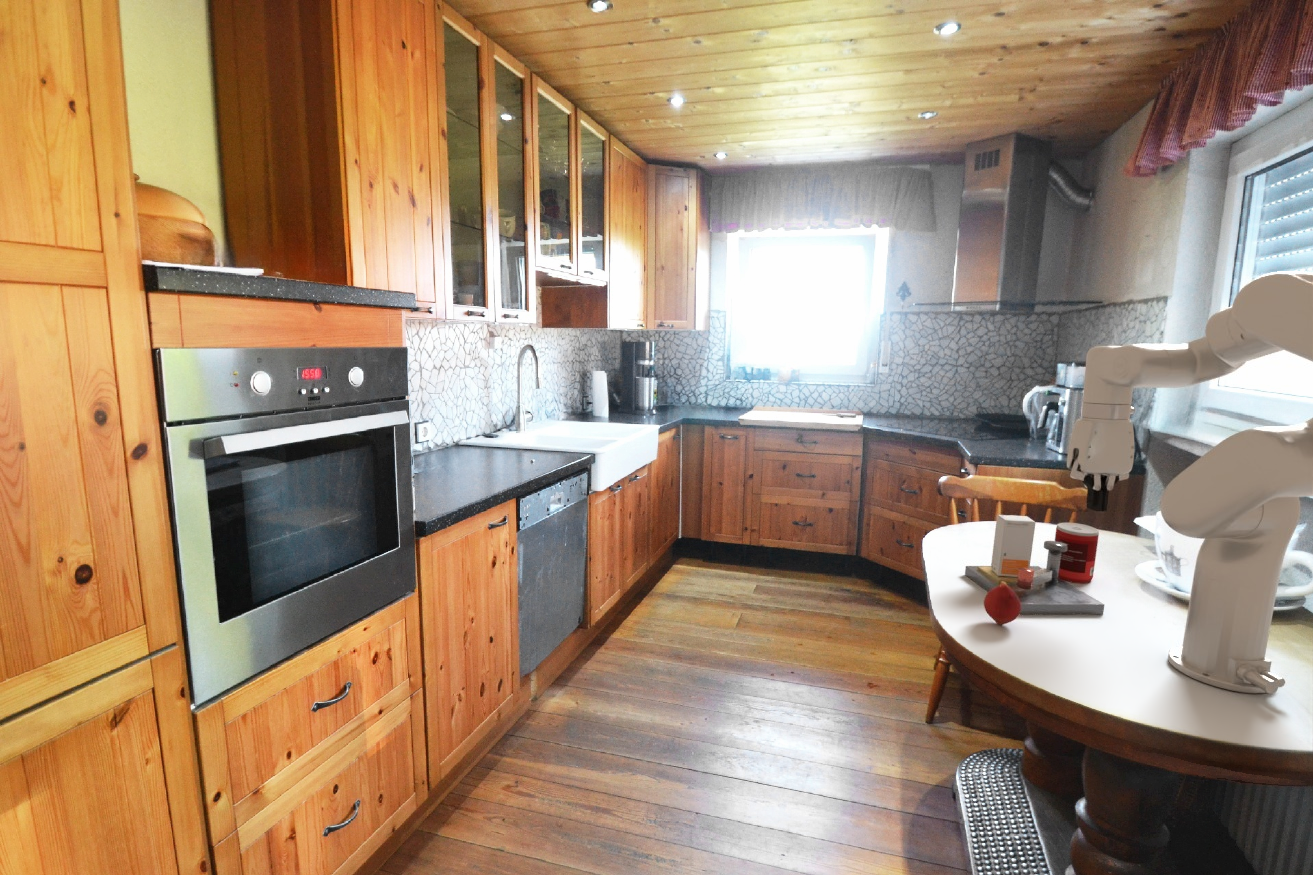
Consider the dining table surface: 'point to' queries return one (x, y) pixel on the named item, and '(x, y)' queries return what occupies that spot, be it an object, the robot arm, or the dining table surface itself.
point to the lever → (1032, 577)
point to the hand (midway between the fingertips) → (1096, 509)
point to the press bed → (1042, 588)
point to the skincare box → (1012, 544)
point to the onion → (1002, 604)
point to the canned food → (1077, 551)
